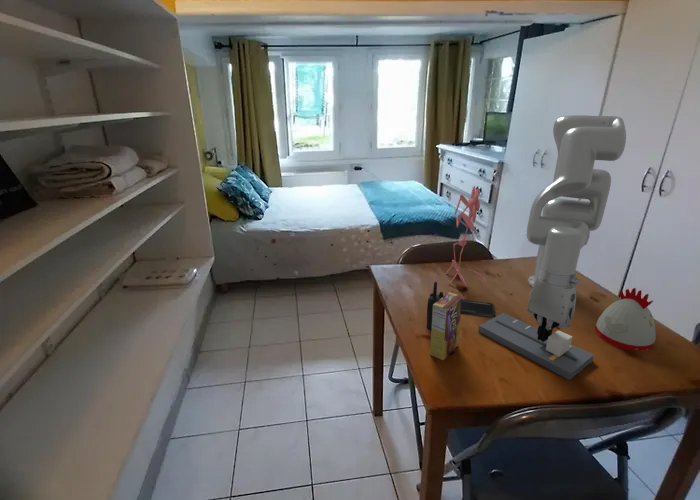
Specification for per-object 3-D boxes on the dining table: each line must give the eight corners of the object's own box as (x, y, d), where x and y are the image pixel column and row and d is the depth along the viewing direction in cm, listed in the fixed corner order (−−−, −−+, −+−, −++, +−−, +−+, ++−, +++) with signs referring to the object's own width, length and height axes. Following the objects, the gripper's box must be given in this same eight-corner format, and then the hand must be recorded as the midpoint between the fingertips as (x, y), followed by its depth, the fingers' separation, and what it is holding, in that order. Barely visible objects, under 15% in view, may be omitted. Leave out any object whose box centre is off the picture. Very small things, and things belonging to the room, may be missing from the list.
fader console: (502, 318, 119) (503, 312, 119) (592, 361, 100) (594, 354, 99) (478, 331, 113) (479, 324, 112) (569, 380, 93) (571, 372, 92)
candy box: (444, 339, 109) (448, 291, 103) (458, 345, 106) (464, 296, 101) (428, 354, 103) (432, 303, 97) (442, 361, 100) (448, 309, 94)
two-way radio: (429, 331, 113) (433, 284, 108) (421, 323, 117) (424, 278, 111) (445, 327, 115) (450, 281, 109) (437, 319, 119) (441, 275, 113)
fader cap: (555, 343, 103) (558, 330, 102) (569, 349, 100) (572, 336, 99) (545, 349, 100) (548, 336, 99) (559, 356, 98) (562, 343, 96)
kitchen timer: (632, 356, 102) (647, 306, 96) (584, 329, 114) (595, 283, 108) (664, 343, 107) (681, 295, 102) (615, 319, 119) (628, 274, 113)
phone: (446, 297, 130) (494, 303, 126) (446, 300, 131) (493, 306, 127) (445, 308, 123) (495, 315, 119) (444, 311, 124) (494, 318, 120)
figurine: (449, 295, 133) (462, 195, 121) (441, 265, 157) (451, 179, 144) (495, 298, 132) (513, 197, 119) (480, 267, 156) (493, 180, 143)
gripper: (595, 283, 93) (579, 347, 99) (536, 263, 104) (525, 322, 111) (580, 291, 89) (564, 358, 95) (520, 270, 100) (509, 331, 107)
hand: (543, 338), depth 103 cm, fingers closed
